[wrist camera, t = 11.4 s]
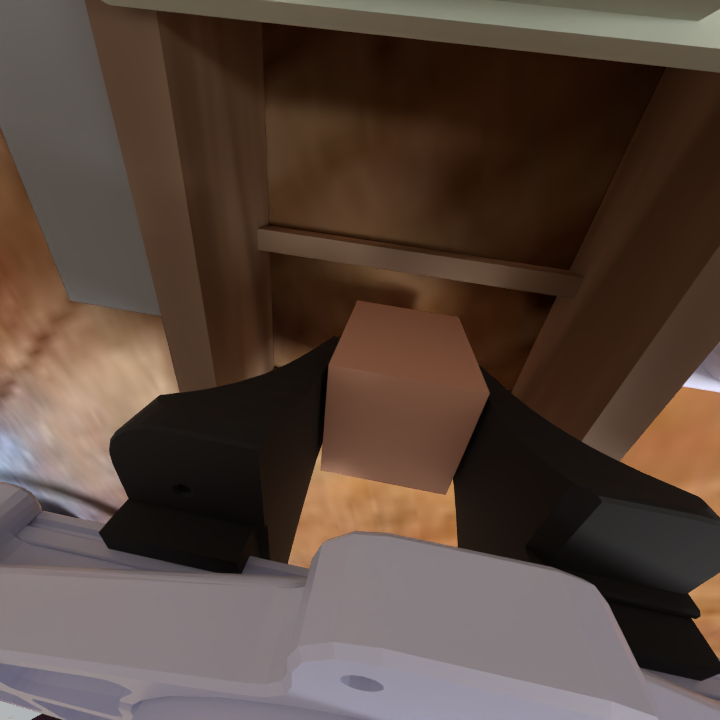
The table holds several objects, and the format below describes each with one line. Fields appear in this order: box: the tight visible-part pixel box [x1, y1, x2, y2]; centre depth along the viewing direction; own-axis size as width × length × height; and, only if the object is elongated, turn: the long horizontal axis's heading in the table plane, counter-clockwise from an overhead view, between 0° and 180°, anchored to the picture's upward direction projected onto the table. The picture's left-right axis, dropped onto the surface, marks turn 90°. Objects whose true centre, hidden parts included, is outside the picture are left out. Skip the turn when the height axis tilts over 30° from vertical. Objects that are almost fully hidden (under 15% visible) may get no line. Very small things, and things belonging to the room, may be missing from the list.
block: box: [321, 300, 490, 495], centre depth 10 cm, size 4×4×5 cm
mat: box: [0, 0, 161, 316], centre depth 12 cm, size 9×14×1 cm, turn 173°
